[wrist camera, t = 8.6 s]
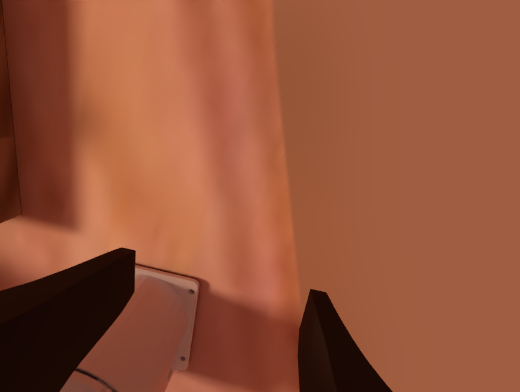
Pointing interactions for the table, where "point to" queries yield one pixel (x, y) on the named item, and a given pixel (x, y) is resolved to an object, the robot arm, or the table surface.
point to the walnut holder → (7, 142)
